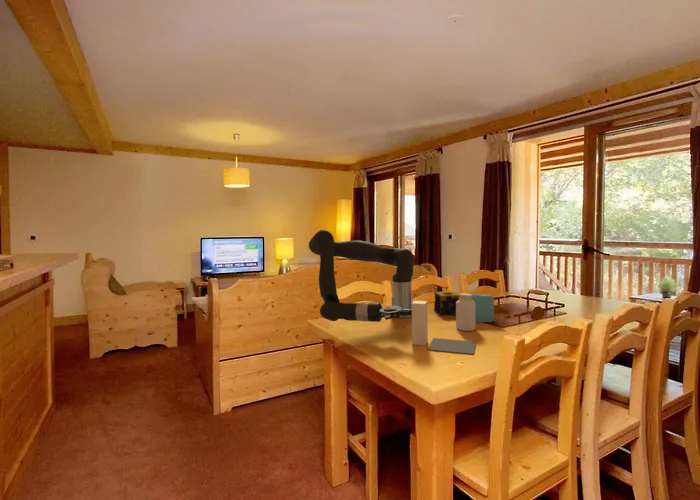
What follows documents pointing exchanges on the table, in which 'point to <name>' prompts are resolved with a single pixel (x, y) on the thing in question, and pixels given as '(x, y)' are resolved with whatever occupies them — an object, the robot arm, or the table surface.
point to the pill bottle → (465, 312)
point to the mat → (452, 346)
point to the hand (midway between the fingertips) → (412, 312)
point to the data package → (483, 307)
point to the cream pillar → (419, 323)
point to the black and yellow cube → (446, 302)
